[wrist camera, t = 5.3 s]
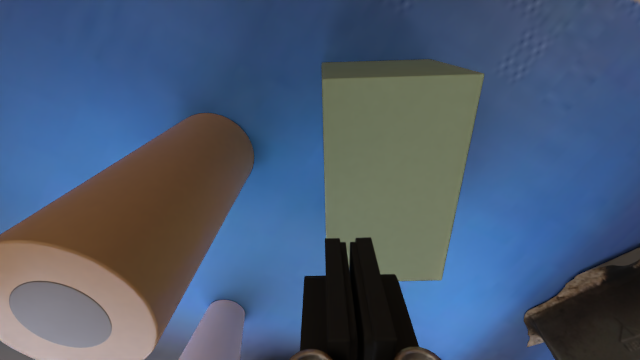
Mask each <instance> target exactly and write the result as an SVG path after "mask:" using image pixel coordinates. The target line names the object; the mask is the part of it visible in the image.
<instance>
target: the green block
mask: <svg viewBox="0 0 640 360" xmlns="http://www.w3.org/2000/svg"><path fill="white" fill-rule="evenodd" d="M483 79H484V74H483V73H480V72H476V71H472V70H469V69H465V68H461V67H458V66H454V65H450V64H446V63H443V62H439V61H435V60H432V59H420V60H389V61H357V62H326V63H322V102H323V141H324V179H325V218H326V238H340V242H346V248H347V256H348V264H349V262H350V242H355V239H356V238H363V237H371V239H372V243H373V247H374V251H375V255H376V259H377V263H378V267H379V271H380V274H395V275H396V277H397V279H398V281H426V280H442V275H443V271H444V266H445V261H446V256H447V251H448V247H449V242H450V237H451V232H452V227H453V223H454V218H455V213H456V208H457V203H458V199H459V194H460V189H461V184H462V179H463V175H464V170H465V165H466V160H467V155H468V151H469V146H470V141H471V136H472V132H473V127H474V122H475V117H476V112H477V108H478V103H479V98H480V93H481V88H482V84H483Z"/></svg>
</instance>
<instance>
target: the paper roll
mask: <svg viewBox="0 0 640 360" xmlns="http://www.w3.org/2000/svg"><path fill="white" fill-rule="evenodd" d="M253 164H254V151H253V147H252V144H251V142H250V140H249V138H248V136H247V135H246V133H245V132H244V131H243V130H242V129H241V128H240V127H239V126H238V125H237V124H236V123H234V122H233V121H231V120H230V119H228V118H226V117H223V116H221V115H217V114H212V113H199V114H195V115H192V116H190V117H188V118H186V119H184V120H183V121H181V122H180V123H178V124H176V125H175V126H173V127H172V128H170V129H168V130H167V131H165V132H164V133H162V134H160V135H159V136H157V137H156V138H154V139H152V140H151V141H149V142H148V143H146V144H145V145H143V146H141V147H140V148H138V149H137V150H135V151H133V152H132V153H130V154H129V155H127V156H125V157H124V158H122V159H121V160H119V161H117V162H116V163H114V164H113V165H111V166H109V167H108V168H106V169H105V170H103V171H101V172H100V173H98V174H97V175H95V176H93V177H92V178H90V179H89V180H87V181H85V182H84V183H82V184H81V185H79V186H77V187H76V188H74V189H73V190H71V191H69V192H68V193H66V194H65V195H63V196H61V197H60V198H58V199H57V200H55V201H53V202H52V203H50V204H49V205H47V206H45V207H44V208H42V209H41V210H39V211H37V212H36V213H34V214H33V215H31V216H29V217H28V218H26V219H25V220H23V221H21V222H20V223H18V224H17V225H15V226H13V227H12V228H10V229H9V230H7V231H5V232H4V233H2V234H1V235H0V341H2V342H3V343H5V344H6V345H8V346H10V347H11V348H13V349H15V350H17V351H18V352H21V353H23V354H25V355H27V356H29V357H31V358H34V359H36V360H144V359H145V358H147V357H148V356H149V355H150V353H151V352H152V351H153V350H154V348H155V346H156V345H157V343H158V341H159V339H160V337H161V335H162V334H163V332H164V330H165V328H166V326H167V324H168V323H169V321H170V319H171V317H172V315H173V313H174V312H175V310H176V308H177V306H178V304H179V302H180V301H181V299H182V297H183V295H184V293H185V291H186V290H187V288H188V286H189V284H190V282H191V281H192V279H193V277H194V275H195V273H196V271H197V270H198V268H199V266H200V264H201V262H202V260H203V259H204V257H205V255H206V253H207V251H208V249H209V248H210V246H211V244H212V242H213V240H214V238H215V237H216V235H217V233H218V231H219V229H220V227H221V226H222V224H223V222H224V220H225V218H226V216H227V215H228V213H229V211H230V209H231V207H232V205H233V204H234V202H235V200H236V198H237V196H238V194H239V193H240V191H241V189H242V187H243V185H244V184H245V182H246V180H247V178H248V176H249V174H250V173H251V170H252V168H253Z"/></svg>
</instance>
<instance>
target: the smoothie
mask: <svg viewBox="0 0 640 360" xmlns="http://www.w3.org/2000/svg"><path fill="white" fill-rule="evenodd" d="M244 319H245V312H244V309H243V308H242V307H241V306H240V305H239V304H237V303H236V302H233V301H230V300H218V301H215V302H213V303H211V304H210V305H209V307H208V309H207V311H206V312H205V314H204V316H203V318H202V319H201V321H200V323H199V325H198V326H197V328H196V330H195V332H194V333H193V335H192V337H191V339H190V340H189V342H188V344H187V346H186V347H185V349H184V351H183V353H182V354H181V356H180V358H179V360H240V352H241V344H242V335H243V327H244Z"/></svg>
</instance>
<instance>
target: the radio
mask: <svg viewBox="0 0 640 360" xmlns="http://www.w3.org/2000/svg"><path fill="white" fill-rule="evenodd" d="M524 322H525V324H526V326H527V328H528V335H529V336H530V340H529V342H528V346H527V347H529V346H532V345H536V344H539V343H542V342H545V344H546V345H547V347H548V348H549V350H550V351H551V353H552V355H553V357H554V358H555V360H640V247H639V248H637V249H635V250H632V251H630V252H628V253H626V254H624V255H621V256H619V257H617V258H615V259H612V260H610V261H608V262H606V263H603V264H601V265H599V266H597V267H595V268H592V269H590V270H588V271H586V272H583V273H581V274H579V275H577V276H576V277H575V278H574V280H572V281H570V282H568V283H566V286H565V287H564V288H563V290H562V291H561V292H560V293H559V294H558V295H557V296H556V297H554V298H552V299H551V300H549V301H547V302H546V303H544V304H541V305H539V306H537V307H535V308H533V309H530V310H529V311H528V312H526V314H525V317H524Z"/></svg>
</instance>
